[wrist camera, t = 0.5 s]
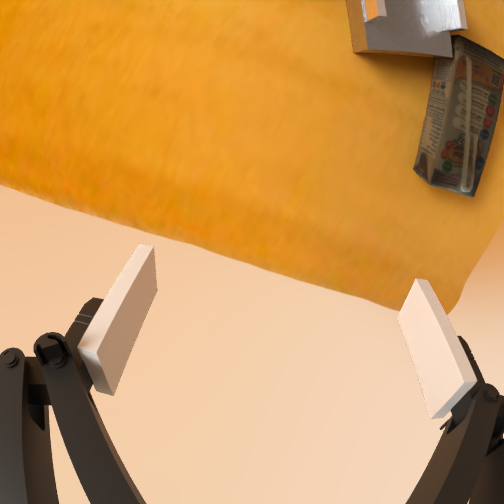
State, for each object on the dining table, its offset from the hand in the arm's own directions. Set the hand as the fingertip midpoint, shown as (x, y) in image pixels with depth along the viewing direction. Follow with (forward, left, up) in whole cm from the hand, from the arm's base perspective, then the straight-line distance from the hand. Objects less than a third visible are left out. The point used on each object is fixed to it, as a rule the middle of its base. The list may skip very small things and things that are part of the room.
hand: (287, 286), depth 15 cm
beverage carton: (-5, +23, -26) cm, 35 cm away
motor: (-19, +15, -26) cm, 35 cm away
